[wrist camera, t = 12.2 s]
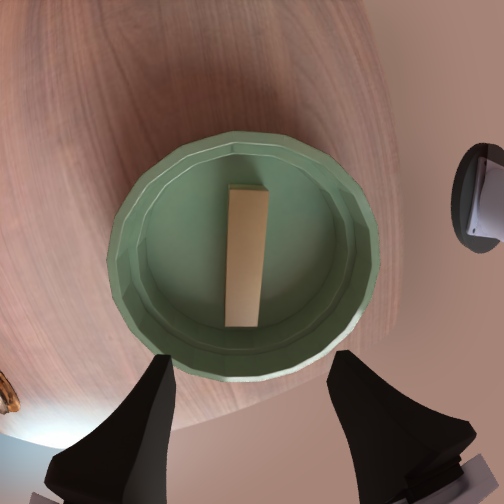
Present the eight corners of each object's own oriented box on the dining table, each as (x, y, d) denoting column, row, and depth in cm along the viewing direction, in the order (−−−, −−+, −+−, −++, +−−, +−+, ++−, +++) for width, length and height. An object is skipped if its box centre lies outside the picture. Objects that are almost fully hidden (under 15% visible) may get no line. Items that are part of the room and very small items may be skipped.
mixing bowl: (359, 148, 17) (400, 153, 13) (326, 333, 23) (346, 373, 18) (130, 135, 16) (98, 134, 11) (145, 333, 21) (131, 377, 17)
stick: (264, 184, 17) (269, 190, 15) (254, 309, 20) (257, 327, 18) (228, 183, 17) (229, 188, 15) (224, 309, 20) (224, 327, 18)
